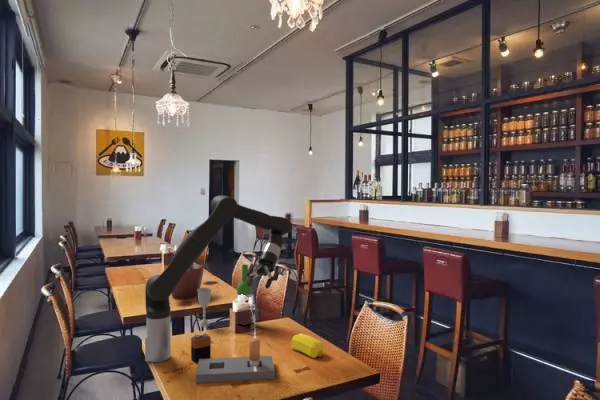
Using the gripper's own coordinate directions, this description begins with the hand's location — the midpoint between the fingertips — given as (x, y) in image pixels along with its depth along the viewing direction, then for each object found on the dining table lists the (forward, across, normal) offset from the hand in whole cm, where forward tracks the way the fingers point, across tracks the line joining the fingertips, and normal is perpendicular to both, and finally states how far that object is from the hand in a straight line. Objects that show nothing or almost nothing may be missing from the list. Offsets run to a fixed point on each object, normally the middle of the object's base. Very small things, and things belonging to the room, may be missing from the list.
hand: (257, 286), depth 179 cm
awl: (+32, +9, +7) cm, 34 cm away
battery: (+31, -16, +8) cm, 36 cm away
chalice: (+6, -40, +34) cm, 53 cm away
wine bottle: (-1, -23, +41) cm, 47 cm away
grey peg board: (+35, +3, +5) cm, 35 cm away
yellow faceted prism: (+14, +20, +26) cm, 35 cm away
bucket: (-24, -85, +63) cm, 109 cm away
